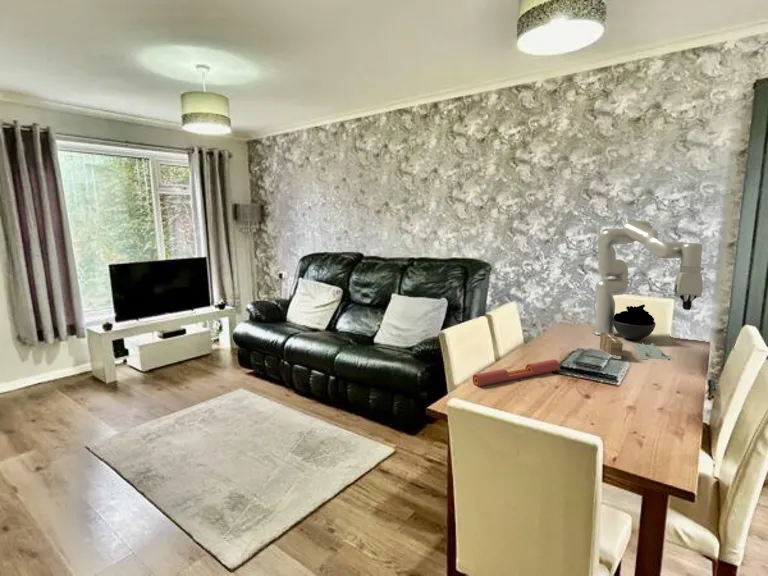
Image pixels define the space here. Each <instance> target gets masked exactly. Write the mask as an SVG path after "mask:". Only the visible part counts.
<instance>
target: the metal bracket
mask: <svg viewBox="0 0 768 576" xmlns="http://www.w3.org/2000/svg"><path fill="white" fill-rule="evenodd" d="M631 348H632V349H634V350H635V351H636V352H637V353H638V354H639V355H638V356H637V357H638V359H639V360H641V361H649V360H648V359H673V360H674V357H672V356H671V355H670V354H669V355H666V354H665V353H664V351H662V350H661V349H660V348H659V347H657V346H656V345H655V343H652V342H651V344H644V343H643V342H642V343H641V344H640V343H636V344H633V345H631Z"/></svg>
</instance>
